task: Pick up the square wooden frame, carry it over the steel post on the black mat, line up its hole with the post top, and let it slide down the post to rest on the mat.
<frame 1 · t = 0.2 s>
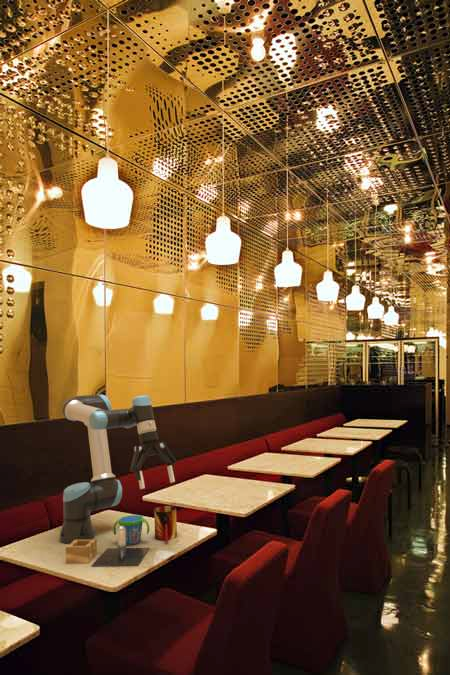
hand: (157, 485, 186), 28 cm above the table, tool tilted 20°, fingers open, 13 cm apart
square wooden frame: (81, 558, 186), on the table
snack cup: (131, 543, 202), on the table
post stand: (122, 557, 185), on the table
mug: (168, 538, 206), on the table
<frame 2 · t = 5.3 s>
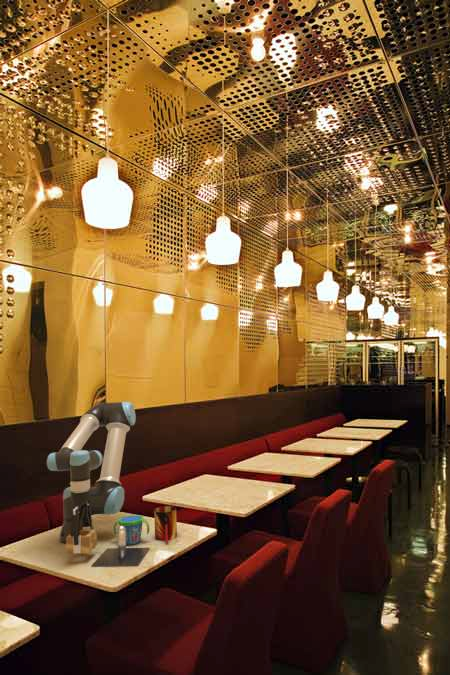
hand: (82, 548, 186), 4 cm above the table, tool pointing down, fingers closed on square wooden frame, 9 cm apart
square wooden frame: (82, 548, 186), point 4 cm above the table, touching gripper
everything else where it was.
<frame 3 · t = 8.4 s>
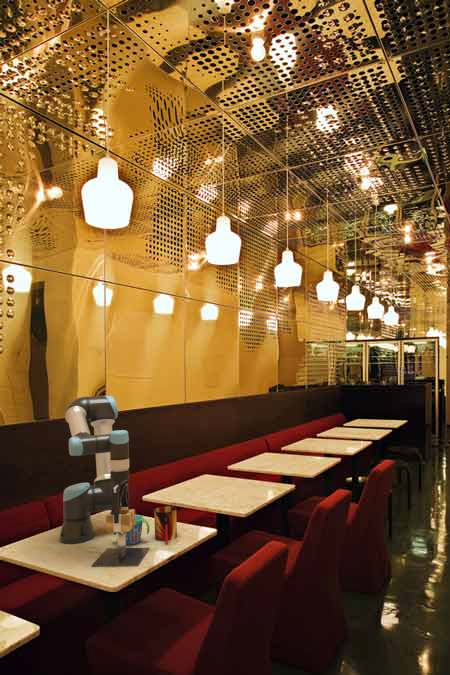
hand: (121, 527, 186), 11 cm above the table, tool pointing down, fingers closed on square wooden frame, 9 cm apart
square wooden frame: (121, 528, 186), point 11 cm above the table, touching gripper
everything else where it was.
when the fingers open (2 cm above the table, at t = 11.4 s): square wooden frame drops 1 cm, resting on post stand.
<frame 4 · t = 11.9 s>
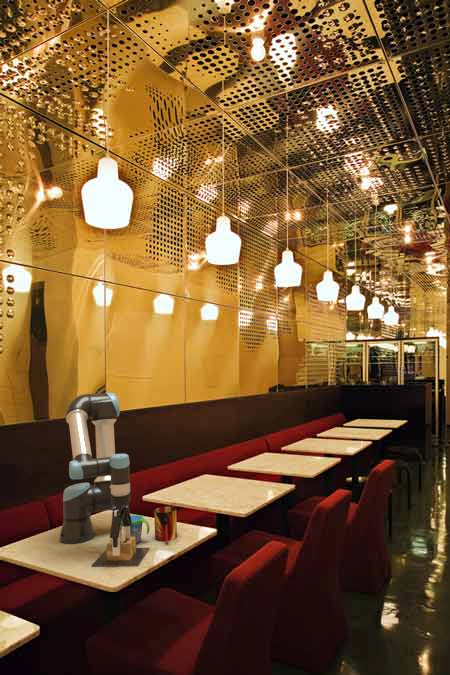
hand: (121, 549, 186), 3 cm above the table, tool pointing down, fingers open, 13 cm apart
square wooden frame: (121, 556, 185), resting on post stand
everything else where it was.
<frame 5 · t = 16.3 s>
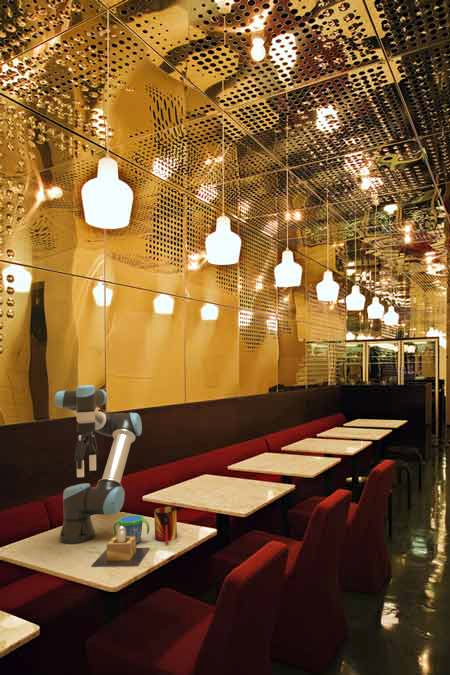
hand: (86, 473, 195), 32 cm above the table, tool pointing down, fingers open, 13 cm apart
at the end: square wooden frame 0.1 cm off-centre on the post stand, point 0.5 cm above the post stand's base; square wooden frame tilted 0°; the gripper is holding nothing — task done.
